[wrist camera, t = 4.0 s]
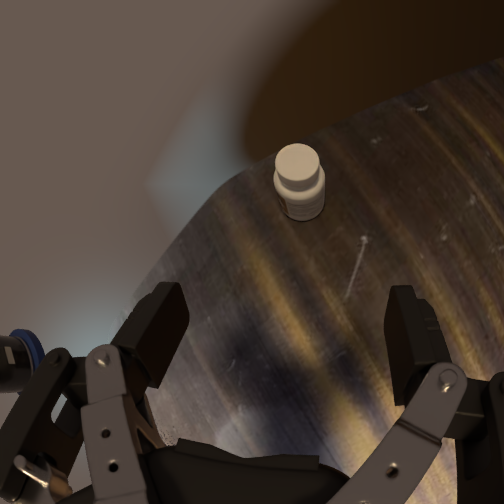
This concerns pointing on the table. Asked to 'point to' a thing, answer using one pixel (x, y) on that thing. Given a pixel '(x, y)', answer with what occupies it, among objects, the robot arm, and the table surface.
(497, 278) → the table surface
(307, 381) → the table surface
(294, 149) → the pill bottle
